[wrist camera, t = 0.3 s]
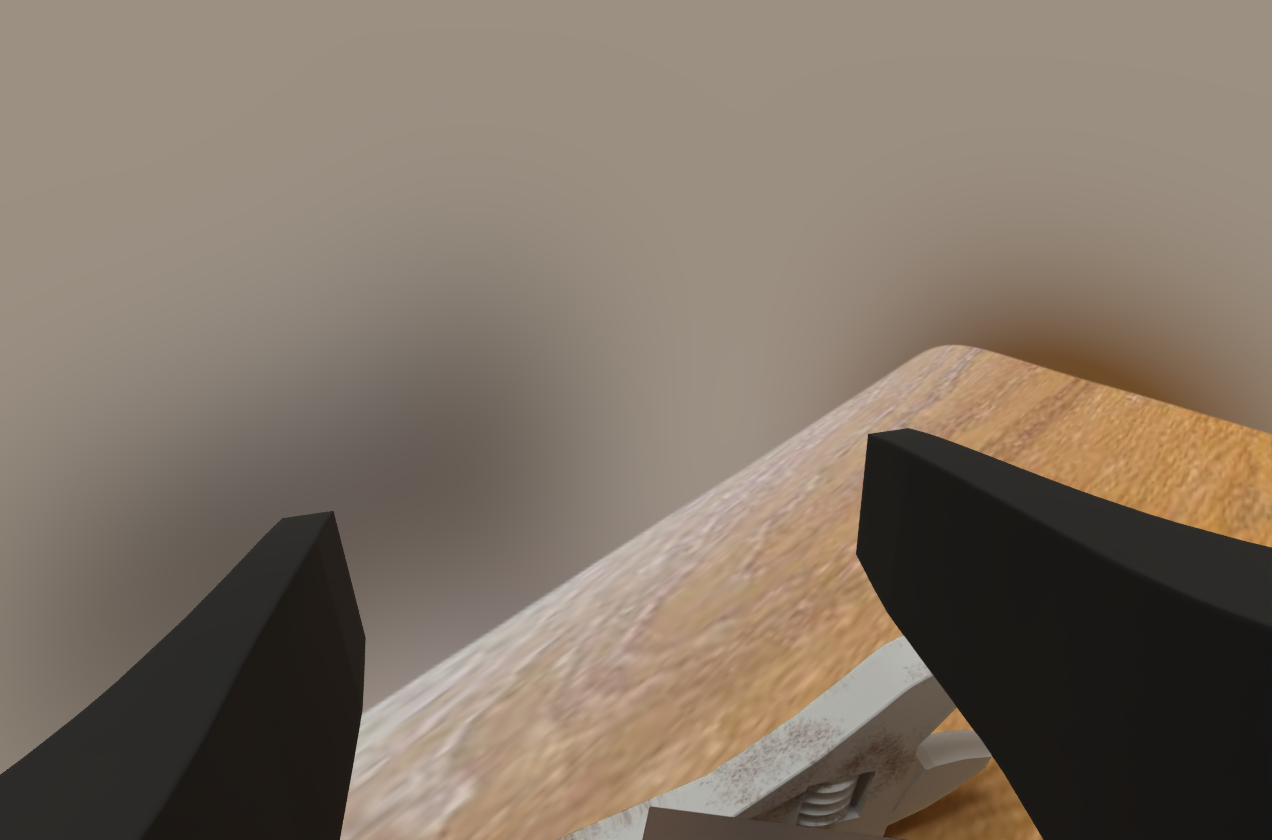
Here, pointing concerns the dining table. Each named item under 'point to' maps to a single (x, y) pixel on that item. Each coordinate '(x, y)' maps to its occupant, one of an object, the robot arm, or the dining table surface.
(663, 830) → the cabinet
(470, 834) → the dining table surface
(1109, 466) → the dining table surface
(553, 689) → the dining table surface
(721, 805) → the wrench
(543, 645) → the dining table surface
